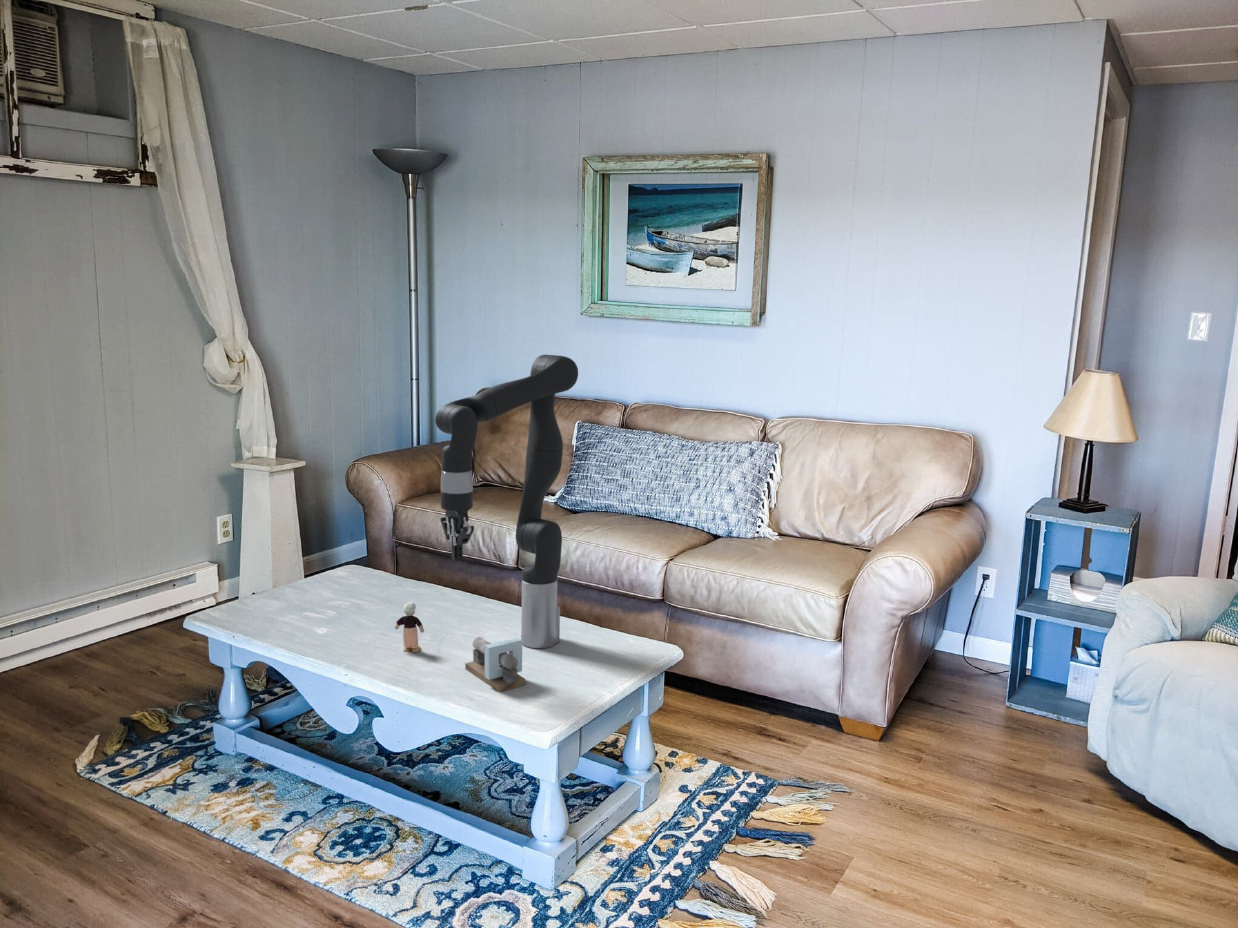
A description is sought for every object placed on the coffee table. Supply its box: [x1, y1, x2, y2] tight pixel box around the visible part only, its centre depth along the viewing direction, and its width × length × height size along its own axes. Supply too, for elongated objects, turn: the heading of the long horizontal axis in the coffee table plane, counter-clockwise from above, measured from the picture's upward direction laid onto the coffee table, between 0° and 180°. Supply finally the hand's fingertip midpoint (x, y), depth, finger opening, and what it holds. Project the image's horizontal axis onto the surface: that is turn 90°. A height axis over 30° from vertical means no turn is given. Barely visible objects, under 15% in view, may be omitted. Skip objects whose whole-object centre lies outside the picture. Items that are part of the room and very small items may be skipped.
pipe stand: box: [464, 636, 526, 693], centre depth 225 cm, size 7×16×8 cm, turn 38°
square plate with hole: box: [485, 637, 523, 680], centre depth 221 cm, size 9×2×8 cm, turn 128°
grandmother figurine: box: [394, 601, 425, 653], centre depth 240 cm, size 8×4×13 cm, turn 92°
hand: (457, 559), depth 227 cm, fingers closed
